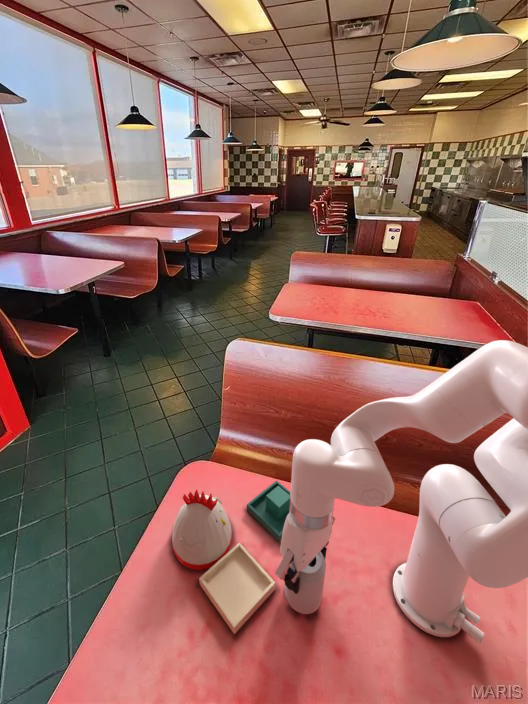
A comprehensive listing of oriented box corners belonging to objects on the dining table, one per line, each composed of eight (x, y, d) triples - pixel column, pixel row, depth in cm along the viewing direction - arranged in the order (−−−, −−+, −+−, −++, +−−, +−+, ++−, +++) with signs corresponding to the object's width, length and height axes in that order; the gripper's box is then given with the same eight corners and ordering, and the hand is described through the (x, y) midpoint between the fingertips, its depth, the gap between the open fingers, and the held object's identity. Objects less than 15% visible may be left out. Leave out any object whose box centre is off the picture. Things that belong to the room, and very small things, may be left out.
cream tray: (275, 589, 68) (275, 582, 67) (234, 634, 61) (234, 627, 60) (239, 548, 76) (239, 542, 75) (199, 584, 69) (198, 578, 68)
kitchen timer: (220, 577, 70) (218, 528, 64) (162, 560, 73) (155, 512, 68) (238, 518, 82) (237, 473, 77) (187, 506, 86) (183, 462, 80)
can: (322, 621, 63) (327, 581, 58) (282, 612, 64) (285, 572, 60) (321, 578, 70) (325, 540, 65) (285, 571, 71) (287, 533, 67)
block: (290, 509, 84) (291, 496, 82) (278, 520, 81) (279, 507, 80) (277, 498, 87) (278, 485, 86) (265, 508, 84) (266, 495, 83)
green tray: (308, 513, 84) (309, 507, 83) (279, 542, 77) (279, 536, 76) (276, 486, 92) (276, 480, 91) (246, 510, 85) (246, 504, 84)
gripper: (322, 467, 66) (316, 528, 72) (261, 521, 55) (259, 588, 61) (356, 491, 60) (346, 555, 67) (296, 556, 50) (290, 625, 56)
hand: (304, 570), depth 64 cm, fingers closed on can, 7 cm apart
